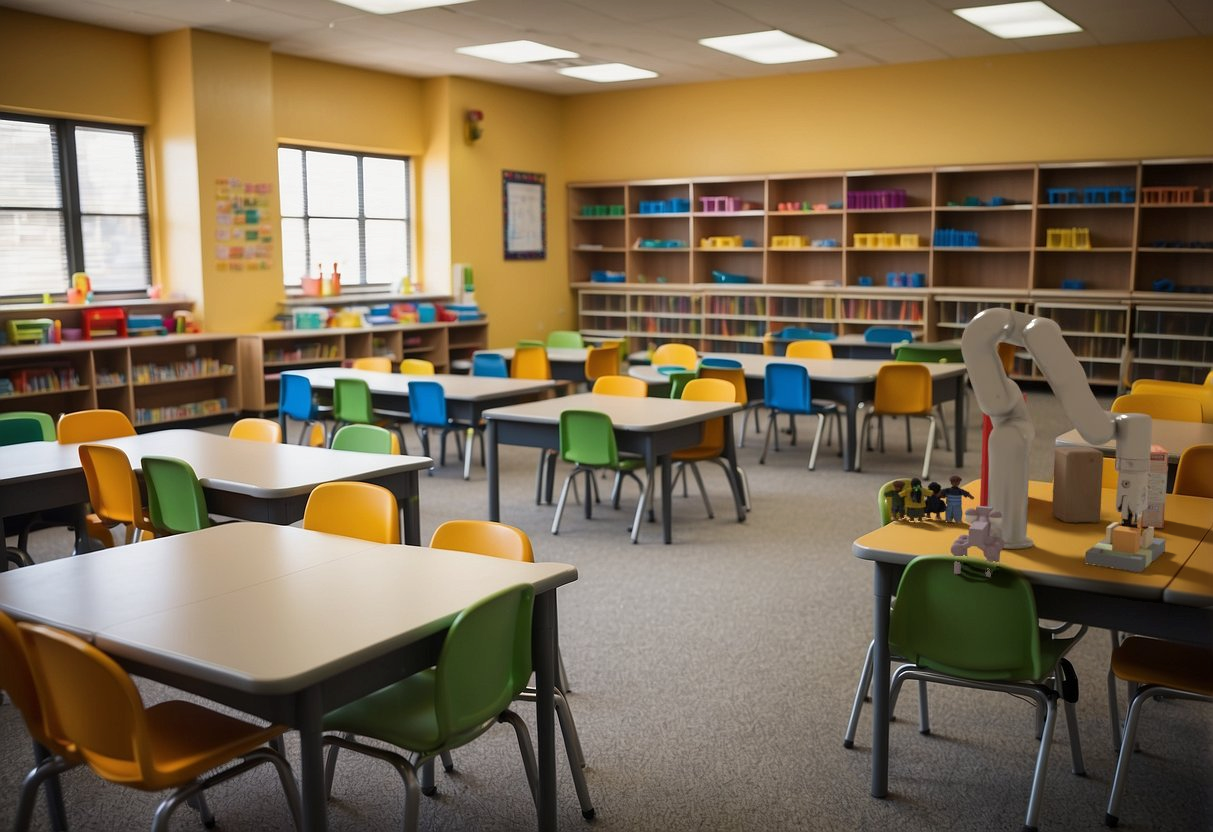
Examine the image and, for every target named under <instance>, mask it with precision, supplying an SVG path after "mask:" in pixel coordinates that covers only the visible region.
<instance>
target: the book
mask: <svg viewBox="0 0 1213 832" xmlns="http://www.w3.org/2000/svg"><path fill="white" fill-rule="evenodd" d="M1022 395H1023V398H1024V401H1025V404H1026V403H1027V392H1024V393H1022ZM1026 405H1027V404H1026ZM982 413H983V414H982V415H983V416H982V441H981V442H982V445H981V463H980V464H981V465H980V466H981V470H980V471H981V472H980V493H979V494H980V495H979V496H980V497H979V506H985V507H988V485H989V482H988V481H989V453H988V442H989V436H990V434H991V431H992V430H993V428H994V427H993V424H992V422H991V419H990V416H988V415H986V414H985V413H984V412H982Z"/></svg>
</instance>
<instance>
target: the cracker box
mask: <svg viewBox="0 0 1213 832" xmlns="http://www.w3.org/2000/svg"><path fill="white" fill-rule="evenodd" d="M1169 456H1170V453H1169V452H1168V451H1167V450H1166V449H1165V448H1163V447H1162V446H1161V445H1160V444H1151V456H1150V472H1149V473H1147V477H1148V506H1147V508H1146V509H1145V510H1144V511H1142V512H1140V513H1139V514H1138V522H1137V524H1138V525H1139V526H1140V527H1141V528H1146V527H1154V529H1161V530H1162V529H1164V528H1165V527H1164V525H1165V512H1166V496H1167V483H1168V471H1169V458H1170V457H1169Z"/></svg>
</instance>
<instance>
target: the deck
mask: <svg viewBox="0 0 1213 832" xmlns="http://www.w3.org/2000/svg"><path fill="white" fill-rule="evenodd" d="M1119 523H1120V522H1117V521H1114V522H1112V523H1110V524H1109V525H1108V526H1106V529H1105V537H1104V538H1103V539H1102V540H1101V541H1099V542H1098V543H1097V544H1095V545H1093V546H1092V547H1090V548H1089V549H1088V550H1086V551H1085V558H1084V561H1085V562H1084V564H1085V563H1088V564H1095V565H1100V566H1099V567H1101V566H1107V567H1106V568H1108V567H1113V568H1112V569H1114V568H1118V569H1117V570H1121V569H1123V571H1127V570H1129V572H1135V573H1142V571H1144V570H1145V569H1146V568H1147V567H1149V566H1150V565H1151V564H1150V563H1151V562H1152V561H1153V562H1154V561H1155V560H1157V559H1158V558H1159V557H1160V556H1162V554H1164V553H1165V552H1166V544H1167V543H1166V541H1167V539H1166V538H1160V537H1154V536H1155V535H1154V534H1155V528H1154V527H1148V528H1145V529H1144V530H1143V531H1141V542H1140V550H1139V551H1137V552H1136V553H1135V554H1134V553H1127V552H1120V551H1113V550H1112V541H1113V529H1115V528H1116V527H1118V526H1120V525H1119ZM1163 552H1164V553H1163ZM1158 556H1159V557H1158ZM1156 558H1157V559H1156ZM1153 562H1152V563H1153ZM1088 564H1087V565H1088ZM1095 565H1094V566H1095ZM1144 568H1145V569H1144ZM1143 569H1144V570H1143Z"/></svg>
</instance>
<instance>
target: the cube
mask: <svg viewBox="0 0 1213 832" xmlns="http://www.w3.org/2000/svg"><path fill="white" fill-rule="evenodd" d="M1141 536H1142V528H1138V527H1137V528H1132V527H1124V526H1121V525H1119V526H1118V527H1116V528H1115V529H1113V541H1112V550H1113V551H1120V552H1127V553H1134V554H1135V553H1136V552H1137V551H1139V550H1140V542H1141Z"/></svg>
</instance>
